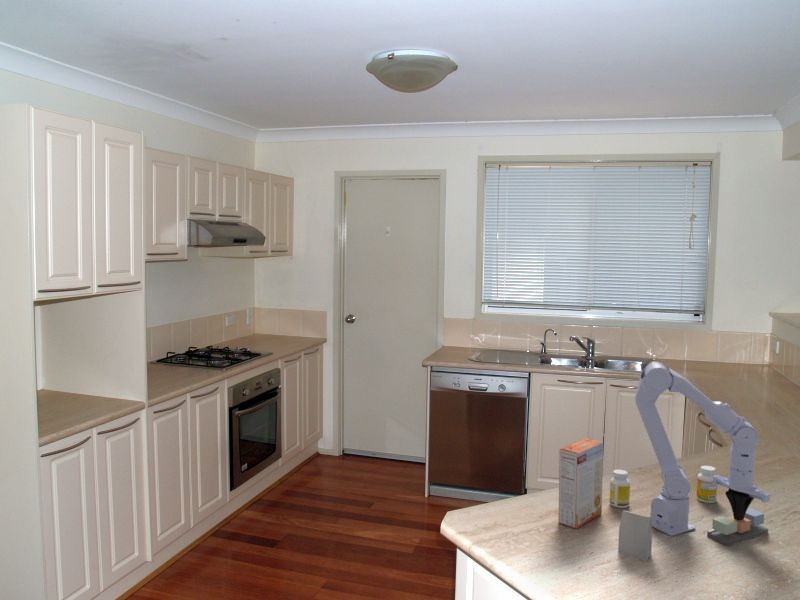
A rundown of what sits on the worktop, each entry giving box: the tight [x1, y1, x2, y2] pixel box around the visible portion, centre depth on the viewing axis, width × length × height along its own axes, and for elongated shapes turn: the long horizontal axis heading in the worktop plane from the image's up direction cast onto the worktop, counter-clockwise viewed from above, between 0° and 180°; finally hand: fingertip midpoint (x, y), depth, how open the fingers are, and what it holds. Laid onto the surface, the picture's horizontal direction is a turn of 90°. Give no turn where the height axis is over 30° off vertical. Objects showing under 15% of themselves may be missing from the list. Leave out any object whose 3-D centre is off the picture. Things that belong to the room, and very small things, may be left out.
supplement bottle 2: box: [696, 465, 718, 504], centre depth 190 cm, size 5×5×10 cm
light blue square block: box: [744, 507, 765, 526], centre depth 170 cm, size 4×4×3 cm
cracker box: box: [558, 437, 604, 530], centre depth 175 cm, size 14×6×21 cm, turn 135°
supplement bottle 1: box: [609, 469, 631, 509], centre depth 186 cm, size 5×5×10 cm
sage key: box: [711, 515, 737, 535], centre depth 164 cm, size 4×4×3 cm
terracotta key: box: [726, 515, 751, 533], centre depth 167 cm, size 4×4×3 cm
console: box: [706, 524, 769, 547], centre depth 167 cm, size 16×6×2 cm, turn 118°
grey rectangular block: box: [617, 509, 653, 562], centre depth 157 cm, size 4×7×10 cm, turn 51°
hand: (738, 519), depth 167 cm, fingers closed, pressing on terracotta key
